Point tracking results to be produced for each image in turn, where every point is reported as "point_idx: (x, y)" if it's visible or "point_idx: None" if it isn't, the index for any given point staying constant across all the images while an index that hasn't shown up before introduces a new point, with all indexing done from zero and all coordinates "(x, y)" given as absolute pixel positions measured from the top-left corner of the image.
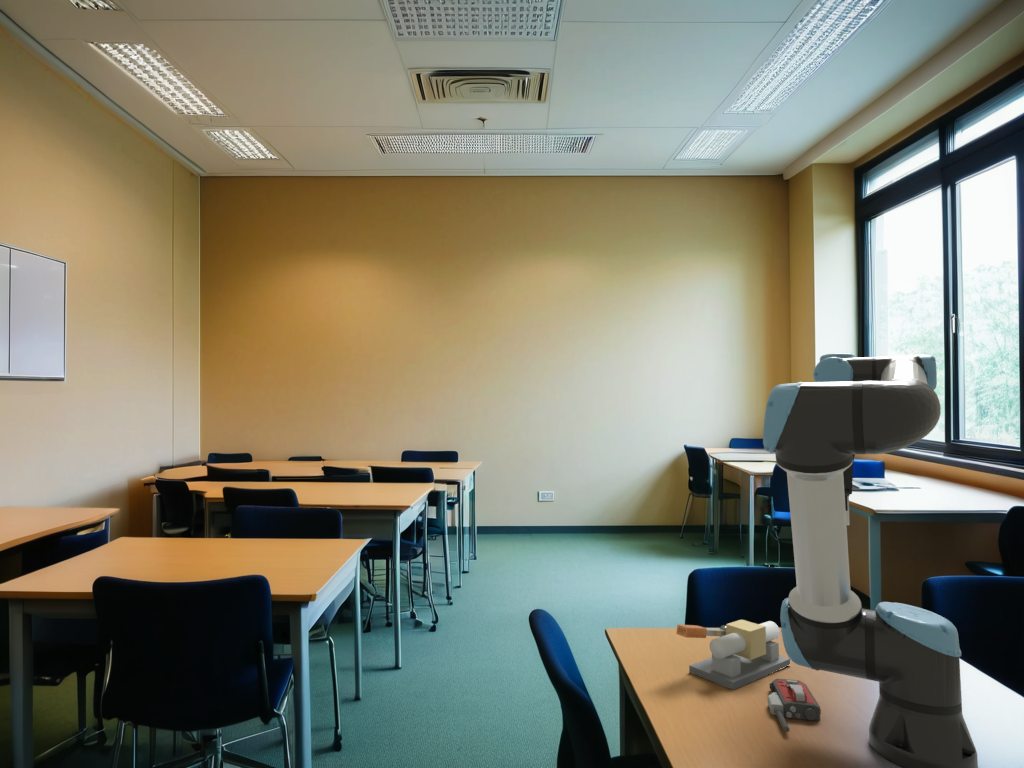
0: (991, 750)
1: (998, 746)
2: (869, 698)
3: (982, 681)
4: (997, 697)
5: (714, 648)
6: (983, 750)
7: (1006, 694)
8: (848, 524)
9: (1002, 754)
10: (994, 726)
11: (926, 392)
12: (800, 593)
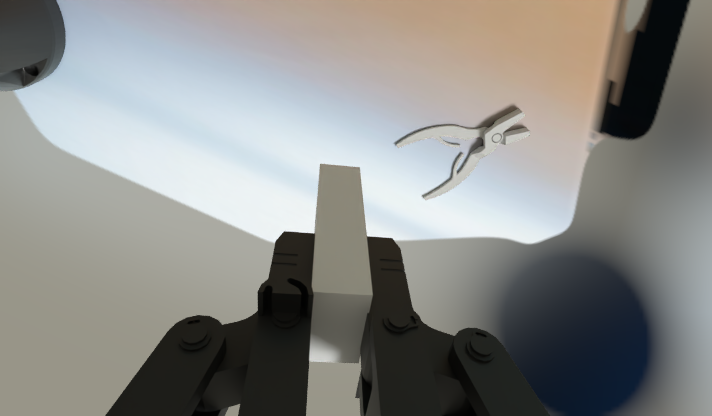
0: (60, 125)
1: (80, 141)
2: (198, 18)
3: None
4: (268, 224)
5: None
6: (53, 114)
7: None
8: (315, 220)
9: (53, 133)
10: (154, 170)
11: None
12: None
